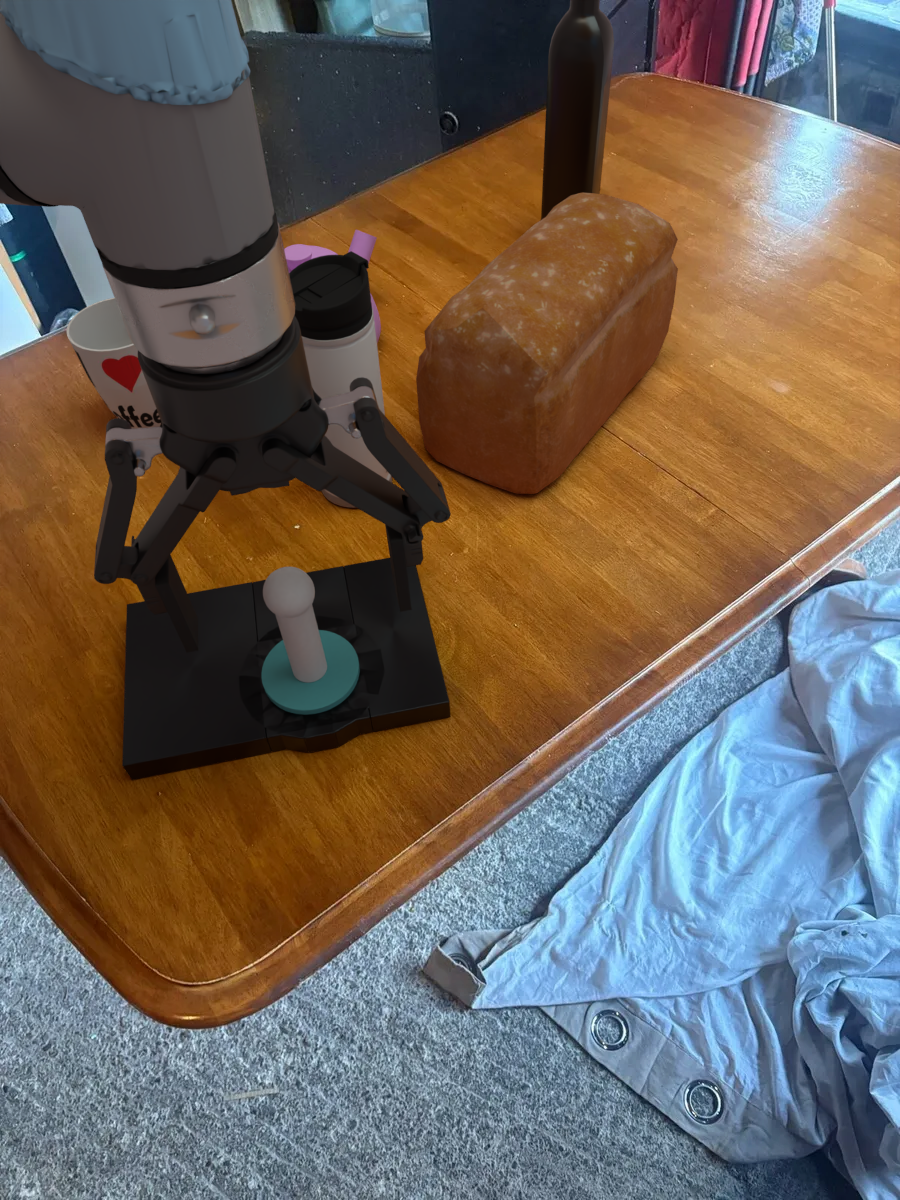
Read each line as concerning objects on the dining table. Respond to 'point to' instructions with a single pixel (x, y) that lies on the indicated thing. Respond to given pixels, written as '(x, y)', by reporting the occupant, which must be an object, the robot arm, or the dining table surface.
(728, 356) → the dining table surface
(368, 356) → the travel mug
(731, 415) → the dining table surface
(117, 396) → the cup
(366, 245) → the teapot
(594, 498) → the dining table surface
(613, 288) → the bread
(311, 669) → the stopper
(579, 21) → the wine bottle
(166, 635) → the plate
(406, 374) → the dining table surface
